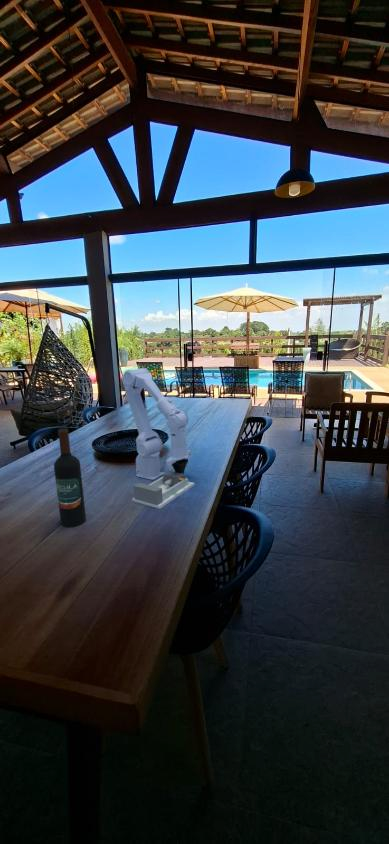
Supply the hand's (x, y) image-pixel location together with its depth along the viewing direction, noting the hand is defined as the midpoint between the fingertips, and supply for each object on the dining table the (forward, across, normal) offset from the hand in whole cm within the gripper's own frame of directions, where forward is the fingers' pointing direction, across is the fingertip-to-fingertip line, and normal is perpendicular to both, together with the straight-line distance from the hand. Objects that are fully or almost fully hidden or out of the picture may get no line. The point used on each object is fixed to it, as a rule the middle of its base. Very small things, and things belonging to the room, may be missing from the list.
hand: (179, 477), depth 142 cm
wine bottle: (+3, -41, +13) cm, 43 cm away
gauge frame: (+2, -10, 0) cm, 10 cm away
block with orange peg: (+1, -6, -1) cm, 6 cm away
